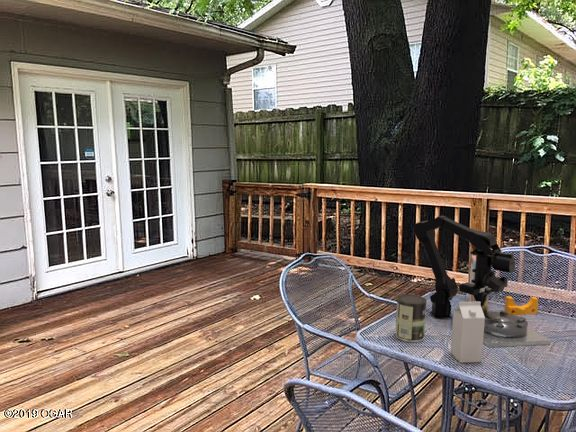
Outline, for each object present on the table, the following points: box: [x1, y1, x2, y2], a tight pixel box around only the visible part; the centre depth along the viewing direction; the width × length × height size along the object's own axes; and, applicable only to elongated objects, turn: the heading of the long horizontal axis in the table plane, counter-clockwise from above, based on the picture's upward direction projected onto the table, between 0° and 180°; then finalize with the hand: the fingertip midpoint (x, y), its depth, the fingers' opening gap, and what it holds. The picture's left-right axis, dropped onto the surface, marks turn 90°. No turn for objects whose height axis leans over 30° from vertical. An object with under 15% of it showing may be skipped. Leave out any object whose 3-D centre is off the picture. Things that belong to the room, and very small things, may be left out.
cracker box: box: [467, 254, 489, 302], centre depth 199 cm, size 14×6×21 cm, turn 167°
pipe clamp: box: [504, 295, 539, 316], centre depth 194 cm, size 12×4×6 cm, turn 89°
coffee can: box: [394, 293, 428, 343], centre depth 169 cm, size 10×10×14 cm
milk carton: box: [450, 301, 485, 363], centre depth 153 cm, size 7×7×19 cm
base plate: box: [483, 325, 551, 348], centre depth 175 cm, size 23×23×4 cm
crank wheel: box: [482, 297, 529, 337], centre depth 174 cm, size 17×17×9 cm
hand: (480, 307), depth 178 cm, fingers closed
